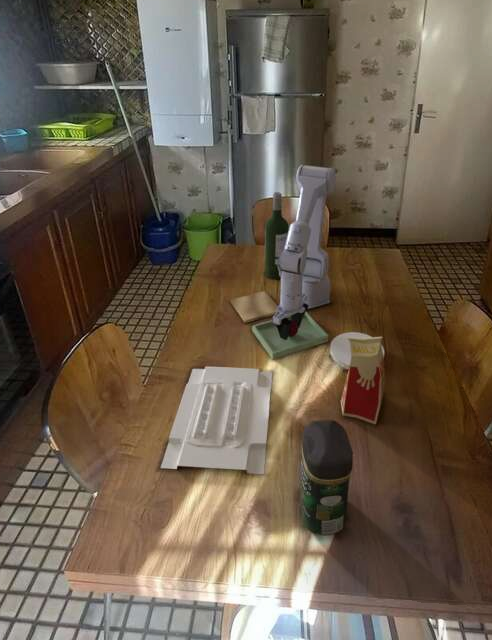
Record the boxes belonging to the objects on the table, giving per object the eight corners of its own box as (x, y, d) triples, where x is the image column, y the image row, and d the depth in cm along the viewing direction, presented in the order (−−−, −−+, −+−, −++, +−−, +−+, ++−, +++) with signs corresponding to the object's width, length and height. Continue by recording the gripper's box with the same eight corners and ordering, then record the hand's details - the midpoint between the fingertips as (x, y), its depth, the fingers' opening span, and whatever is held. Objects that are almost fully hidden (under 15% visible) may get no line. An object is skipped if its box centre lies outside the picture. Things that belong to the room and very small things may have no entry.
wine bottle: (282, 281, 149) (284, 199, 136) (261, 276, 152) (261, 195, 139) (290, 270, 156) (292, 191, 143) (269, 266, 158) (270, 188, 145)
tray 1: (160, 468, 85) (158, 455, 84) (192, 371, 111) (191, 360, 109) (264, 474, 84) (264, 460, 83) (272, 375, 110) (272, 363, 108)
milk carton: (382, 395, 103) (393, 326, 94) (377, 425, 95) (389, 353, 86) (344, 385, 106) (351, 318, 97) (336, 414, 98) (343, 343, 89)
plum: (293, 328, 125) (293, 314, 123) (301, 337, 121) (301, 323, 119) (278, 332, 123) (279, 319, 121) (286, 341, 119) (286, 328, 117)
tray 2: (304, 316, 131) (305, 310, 130) (328, 341, 121) (328, 335, 120) (252, 331, 124) (252, 325, 123) (272, 359, 114) (272, 353, 113)
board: (264, 293, 142) (264, 290, 142) (281, 312, 132) (281, 310, 132) (230, 302, 137) (230, 299, 137) (245, 323, 128) (245, 320, 127)
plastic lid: (384, 344, 120) (385, 337, 119) (381, 379, 108) (383, 372, 106) (333, 335, 123) (334, 328, 122) (325, 368, 111) (326, 361, 110)
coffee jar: (295, 486, 82) (298, 415, 74) (336, 482, 83) (344, 411, 75) (304, 540, 73) (309, 466, 65) (349, 535, 74) (360, 461, 66)
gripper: (289, 308, 108) (288, 351, 114) (317, 283, 119) (315, 324, 125) (266, 299, 112) (266, 342, 118) (295, 276, 123) (294, 315, 129)
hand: (289, 332), depth 122 cm, fingers open, 6 cm apart
